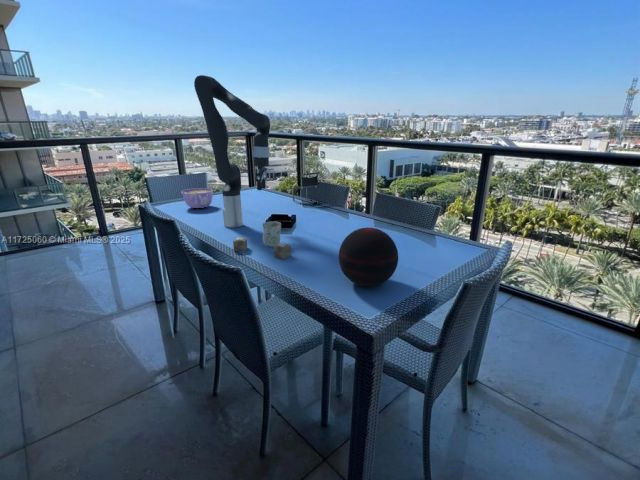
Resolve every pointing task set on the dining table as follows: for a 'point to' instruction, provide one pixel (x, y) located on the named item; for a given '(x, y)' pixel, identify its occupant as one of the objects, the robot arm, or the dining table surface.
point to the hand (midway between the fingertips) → (261, 189)
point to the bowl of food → (198, 197)
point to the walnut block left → (240, 244)
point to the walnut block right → (282, 250)
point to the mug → (271, 233)
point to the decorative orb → (368, 257)
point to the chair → (307, 184)
